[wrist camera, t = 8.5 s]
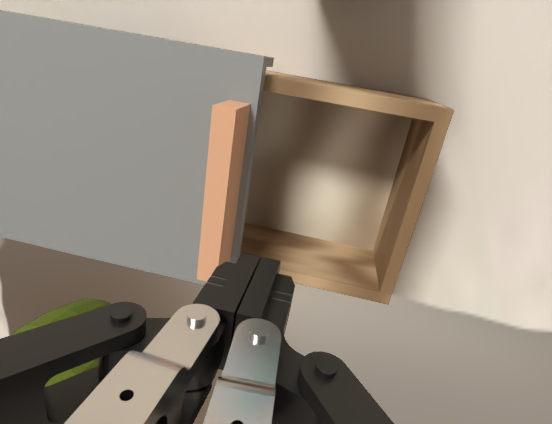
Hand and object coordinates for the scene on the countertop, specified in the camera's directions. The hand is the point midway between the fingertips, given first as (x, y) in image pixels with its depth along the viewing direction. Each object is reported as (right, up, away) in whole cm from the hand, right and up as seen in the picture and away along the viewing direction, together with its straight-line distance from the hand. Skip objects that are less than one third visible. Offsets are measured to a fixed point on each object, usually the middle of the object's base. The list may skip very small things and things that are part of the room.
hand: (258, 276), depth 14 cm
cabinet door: (-10, +7, +12) cm, 17 cm away
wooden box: (+2, +7, +16) cm, 17 cm away
